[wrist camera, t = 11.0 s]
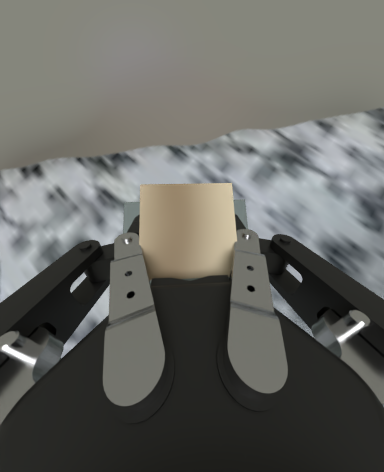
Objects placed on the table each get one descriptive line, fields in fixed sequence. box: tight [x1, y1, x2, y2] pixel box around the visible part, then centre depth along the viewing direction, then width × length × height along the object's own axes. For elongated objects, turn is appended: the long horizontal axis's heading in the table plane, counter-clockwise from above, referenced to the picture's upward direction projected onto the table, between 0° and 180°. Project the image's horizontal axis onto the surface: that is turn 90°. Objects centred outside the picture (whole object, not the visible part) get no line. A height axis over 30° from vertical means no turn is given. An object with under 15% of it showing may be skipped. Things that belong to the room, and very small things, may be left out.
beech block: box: [139, 183, 237, 280], centre depth 12 cm, size 5×5×9 cm
